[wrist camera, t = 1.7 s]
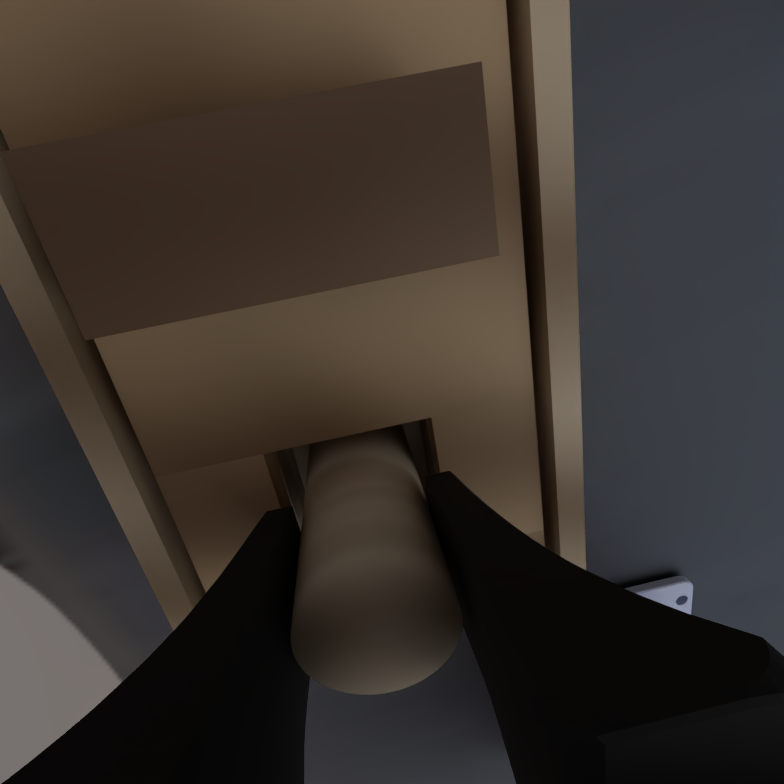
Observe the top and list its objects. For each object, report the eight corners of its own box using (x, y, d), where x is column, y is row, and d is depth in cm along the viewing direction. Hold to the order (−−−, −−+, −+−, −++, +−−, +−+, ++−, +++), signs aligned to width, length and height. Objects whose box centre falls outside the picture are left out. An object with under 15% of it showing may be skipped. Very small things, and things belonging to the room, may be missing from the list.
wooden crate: (524, 483, 17) (586, 572, 13) (226, 550, 17) (190, 665, 12) (475, -83, 11) (561, -261, 7) (4, 0, 11) (-211, -138, 6)
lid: (532, 548, 14) (603, 669, 10) (236, 616, 14) (201, 767, 10) (471, -181, 8) (589, -518, 4) (-62, -93, 8) (-432, -375, 4)
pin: (413, 475, 15) (472, 672, 9) (322, 495, 15) (314, 710, 9) (397, 392, 14) (450, 547, 8) (299, 412, 14) (268, 589, 7)
